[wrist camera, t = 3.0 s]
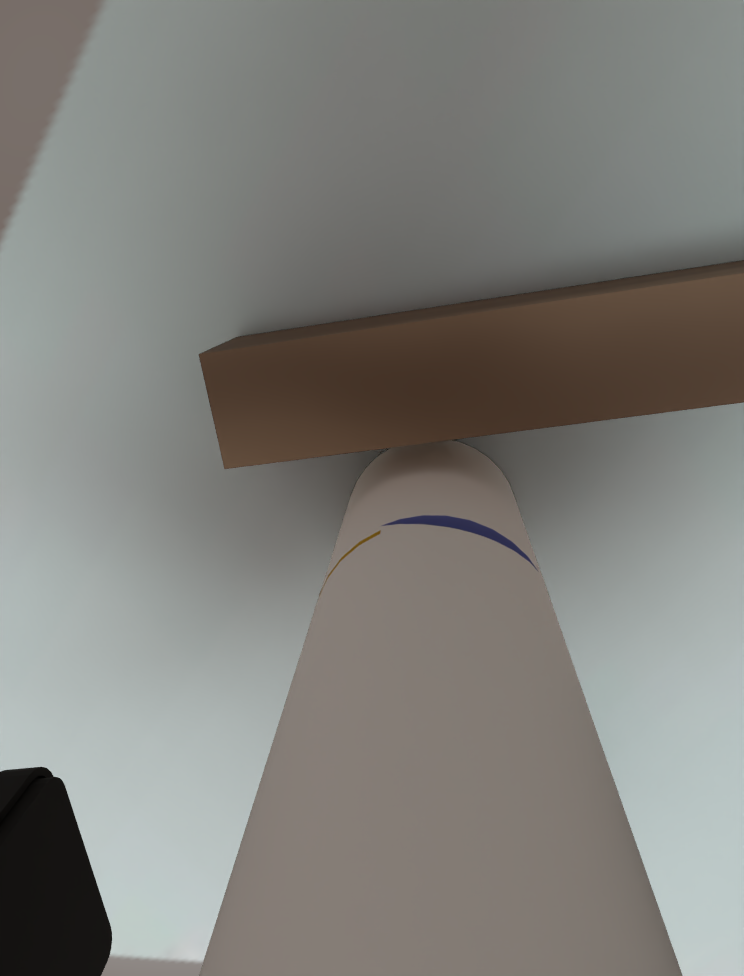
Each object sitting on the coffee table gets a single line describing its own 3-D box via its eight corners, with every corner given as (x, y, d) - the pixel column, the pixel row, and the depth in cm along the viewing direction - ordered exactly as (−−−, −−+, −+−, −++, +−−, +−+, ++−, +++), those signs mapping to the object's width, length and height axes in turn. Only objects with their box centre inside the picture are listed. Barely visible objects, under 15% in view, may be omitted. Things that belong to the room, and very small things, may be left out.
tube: (398, 620, 19) (308, 1711, 5) (317, 486, 18) (-102, 1371, 4) (545, 553, 18) (976, 1656, 4) (469, 407, 17) (676, 1186, 3)
